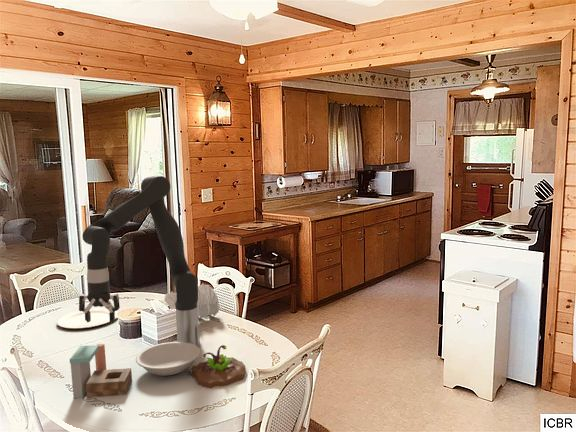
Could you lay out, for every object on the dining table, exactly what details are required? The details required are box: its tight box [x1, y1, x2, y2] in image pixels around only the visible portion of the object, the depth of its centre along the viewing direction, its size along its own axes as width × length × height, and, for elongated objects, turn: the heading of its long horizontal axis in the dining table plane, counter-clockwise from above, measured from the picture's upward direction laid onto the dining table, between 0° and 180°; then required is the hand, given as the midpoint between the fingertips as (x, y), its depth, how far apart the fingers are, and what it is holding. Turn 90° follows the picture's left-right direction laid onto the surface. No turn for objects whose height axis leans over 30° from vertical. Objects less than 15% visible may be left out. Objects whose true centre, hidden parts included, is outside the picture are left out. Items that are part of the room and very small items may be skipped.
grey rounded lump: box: [164, 282, 221, 320], centre depth 235 cm, size 18×18×25 cm
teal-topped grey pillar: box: [69, 344, 99, 399], centre depth 167 cm, size 6×11×14 cm, turn 6°
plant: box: [190, 344, 247, 389], centre depth 178 cm, size 20×20×11 cm
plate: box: [56, 307, 119, 330], centre depth 239 cm, size 29×29×2 cm
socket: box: [86, 367, 133, 398], centre depth 168 cm, size 13×10×5 cm
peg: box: [94, 343, 107, 371], centre depth 178 cm, size 4×4×12 cm
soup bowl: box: [135, 341, 201, 376], centre depth 182 cm, size 24×24×7 cm
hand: (100, 321), depth 177 cm, fingers open, 8 cm apart
